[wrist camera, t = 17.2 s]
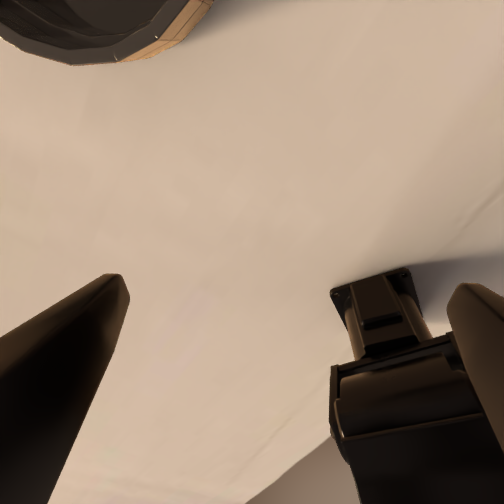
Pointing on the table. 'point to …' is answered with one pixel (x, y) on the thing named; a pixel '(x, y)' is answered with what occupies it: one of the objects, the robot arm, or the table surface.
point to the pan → (98, 28)
